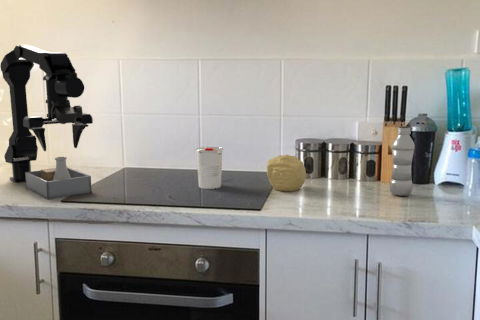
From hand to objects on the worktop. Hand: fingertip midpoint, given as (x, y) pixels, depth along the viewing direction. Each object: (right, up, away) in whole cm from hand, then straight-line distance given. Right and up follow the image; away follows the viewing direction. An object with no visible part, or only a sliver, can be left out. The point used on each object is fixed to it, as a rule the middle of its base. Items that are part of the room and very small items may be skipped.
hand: (60, 149), depth 156 cm
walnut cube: (-5, -11, +8) cm, 15 cm away
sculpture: (+67, -12, +6) cm, 69 cm away
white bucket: (+43, -12, +10) cm, 46 cm away
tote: (-2, -12, +5) cm, 14 cm away
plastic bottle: (+100, -14, -1) cm, 101 cm away
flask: (0, -12, +2) cm, 13 cm away
